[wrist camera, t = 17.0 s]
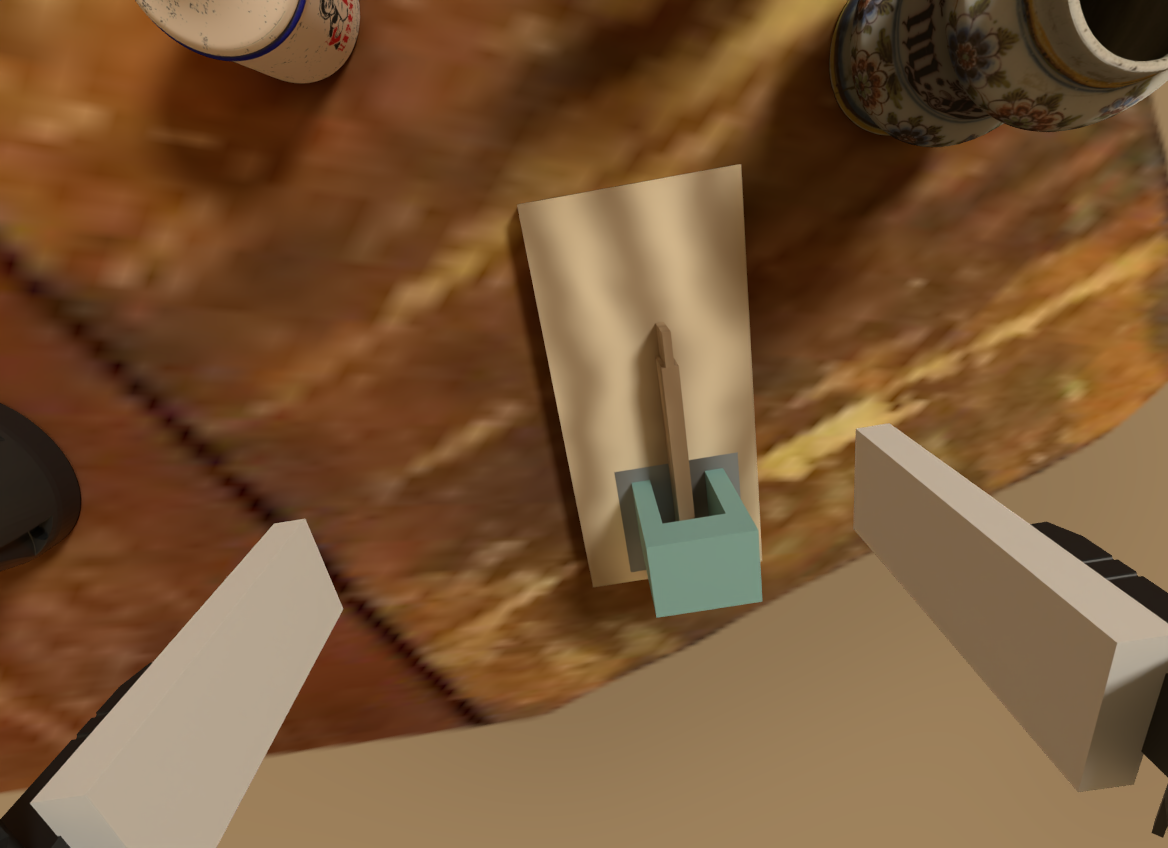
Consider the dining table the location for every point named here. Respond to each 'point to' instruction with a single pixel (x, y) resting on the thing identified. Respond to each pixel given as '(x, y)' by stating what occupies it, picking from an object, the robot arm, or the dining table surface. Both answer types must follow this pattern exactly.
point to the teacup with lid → (264, 33)
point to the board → (647, 350)
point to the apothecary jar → (994, 64)
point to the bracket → (700, 551)
